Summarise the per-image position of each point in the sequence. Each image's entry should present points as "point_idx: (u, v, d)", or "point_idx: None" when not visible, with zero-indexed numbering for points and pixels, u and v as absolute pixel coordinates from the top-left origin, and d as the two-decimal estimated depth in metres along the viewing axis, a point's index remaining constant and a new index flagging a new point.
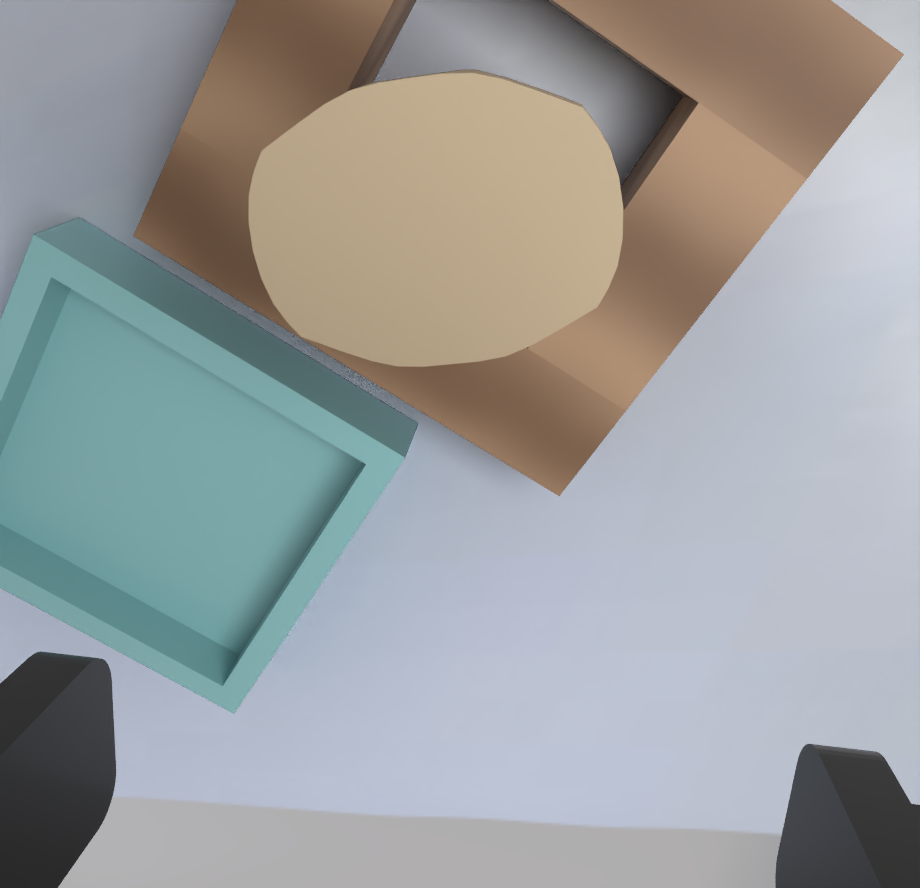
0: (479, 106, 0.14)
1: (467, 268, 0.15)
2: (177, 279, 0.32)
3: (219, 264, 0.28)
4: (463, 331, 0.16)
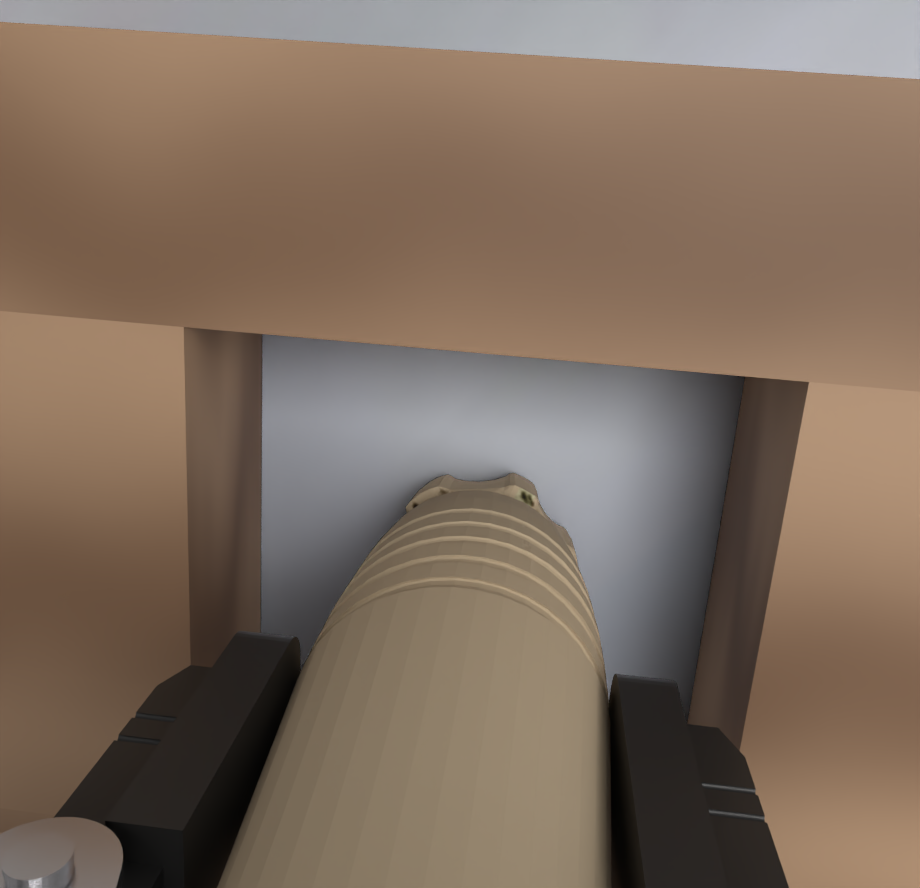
0: None
1: None
2: None
3: None
4: None
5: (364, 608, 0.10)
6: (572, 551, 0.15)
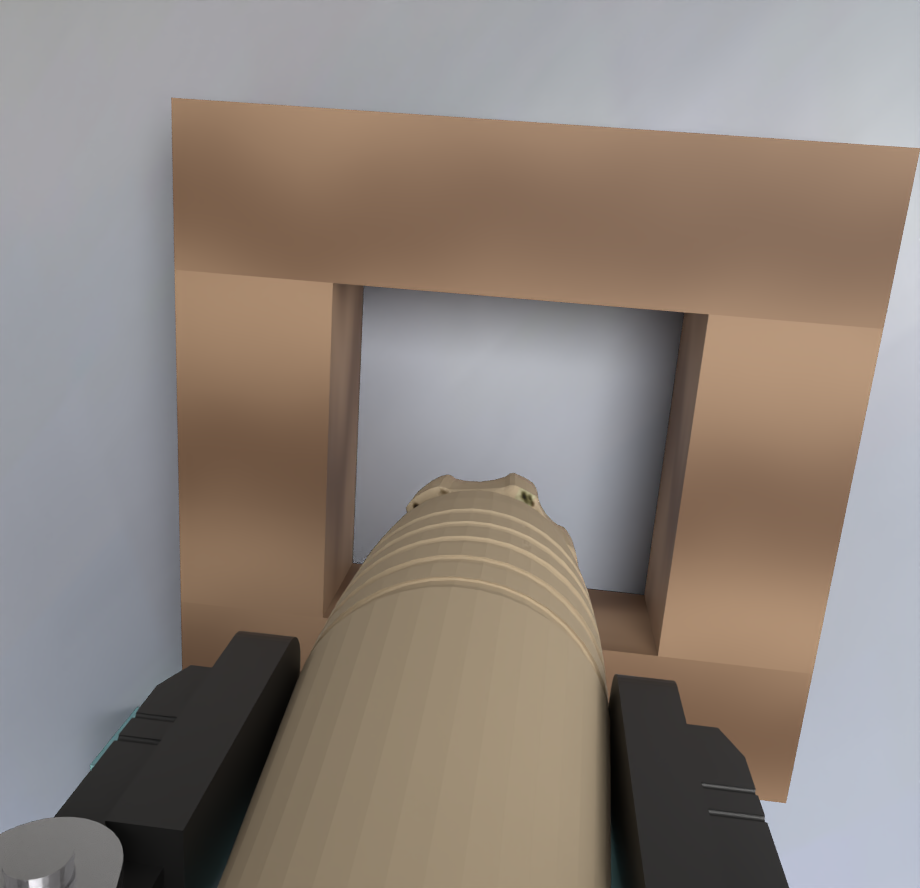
0: None
1: None
2: None
3: None
4: None
5: (364, 608, 0.10)
6: (572, 551, 0.15)
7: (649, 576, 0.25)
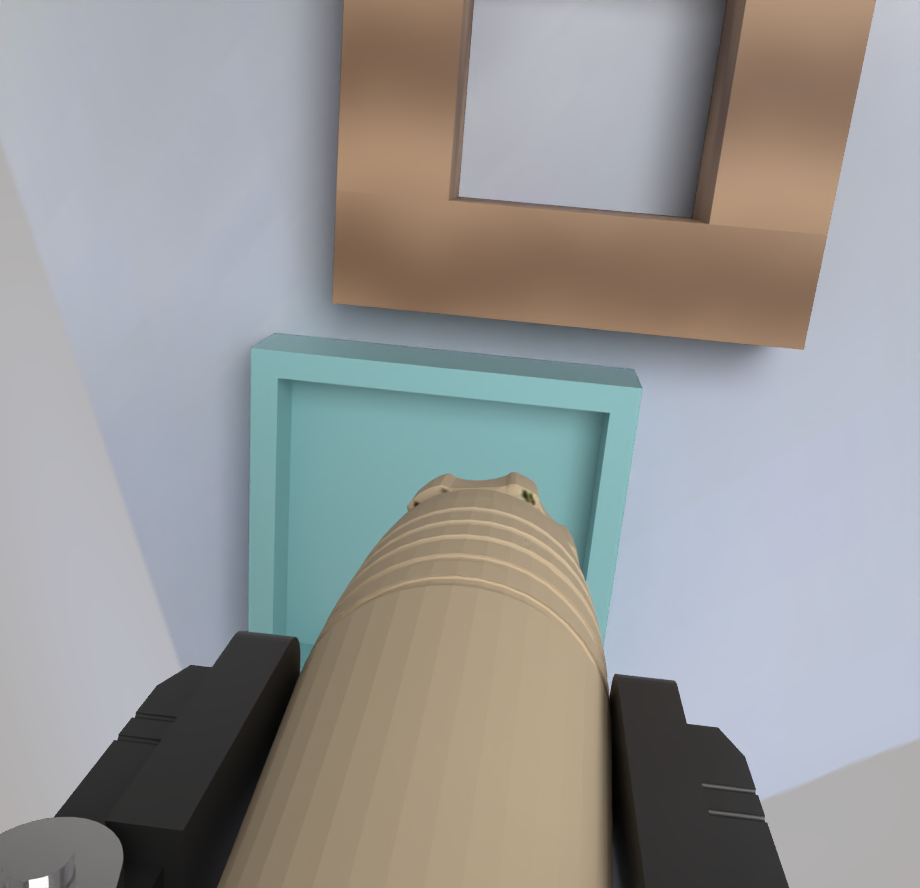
0: None
1: None
2: (374, 344, 0.34)
3: (411, 290, 0.30)
4: None
5: (365, 606, 0.10)
6: (573, 550, 0.15)
7: (697, 195, 0.31)
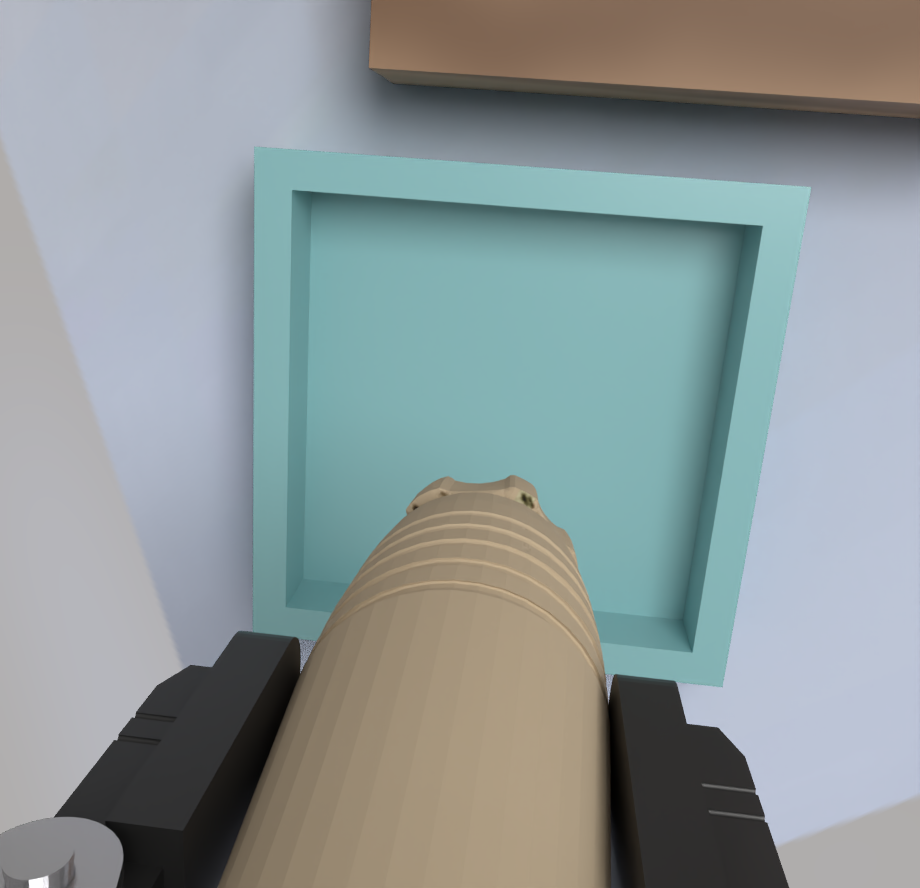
0: None
1: None
2: None
3: (482, 43, 0.21)
4: None
5: (364, 611, 0.10)
6: (572, 553, 0.15)
7: None
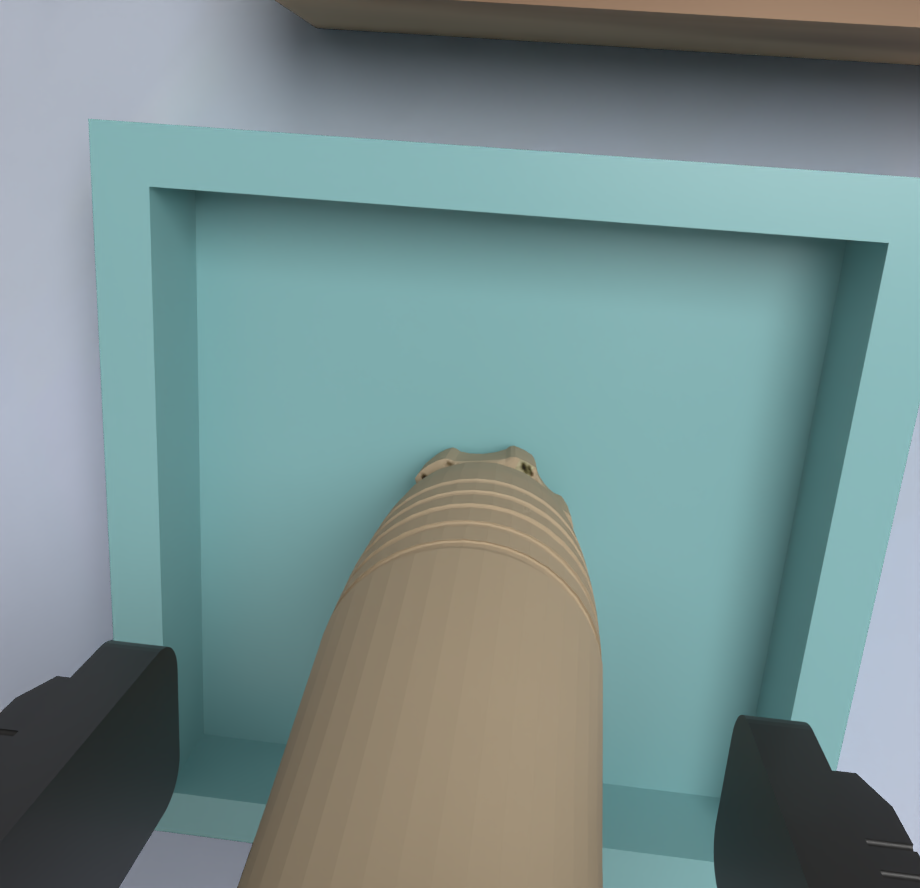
0: None
1: None
2: None
3: None
4: None
5: (384, 567, 0.12)
6: (568, 517, 0.16)
7: None
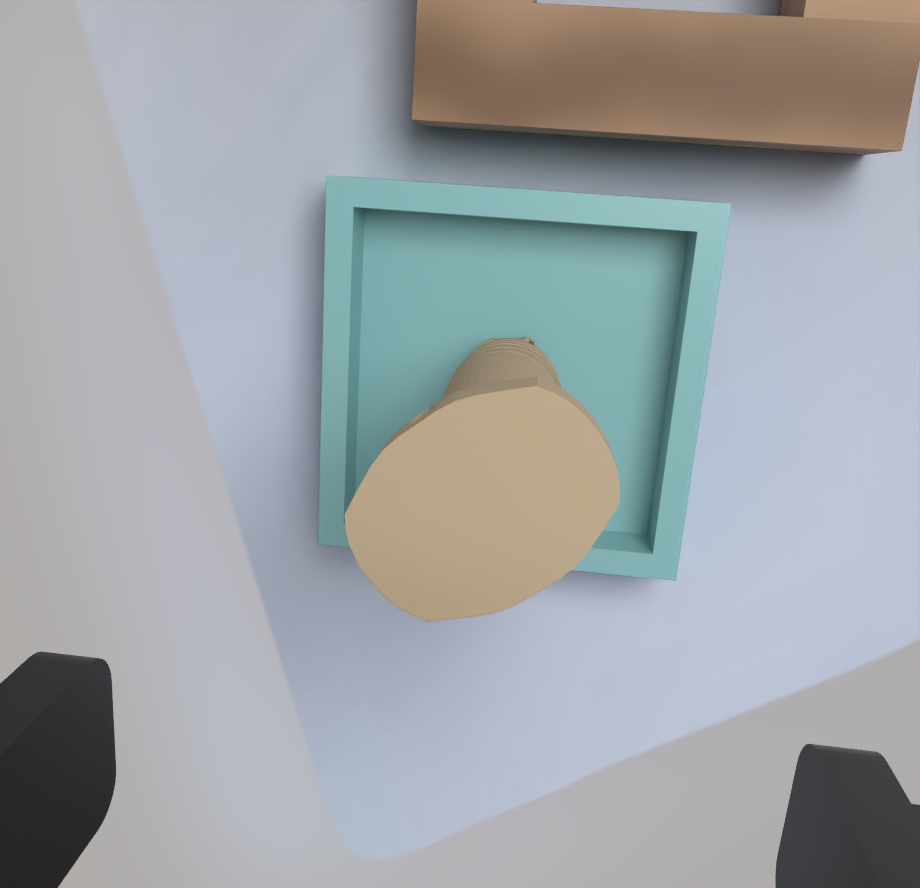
0: (469, 418, 0.19)
1: (516, 522, 0.20)
2: None
3: (493, 102, 0.29)
4: (536, 564, 0.20)
5: (471, 360, 0.28)
6: None
7: (783, 7, 0.30)
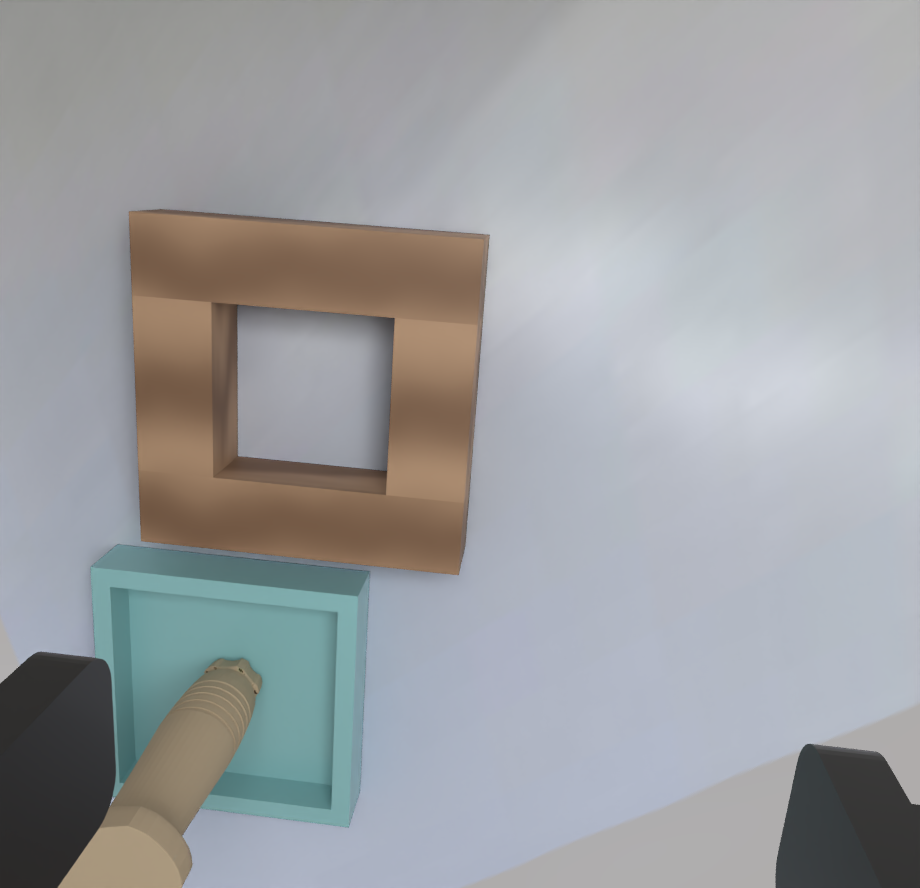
0: (93, 839, 0.34)
1: None
2: (186, 553, 0.48)
3: (193, 533, 0.44)
4: None
5: (171, 715, 0.43)
6: (256, 686, 0.47)
7: None
